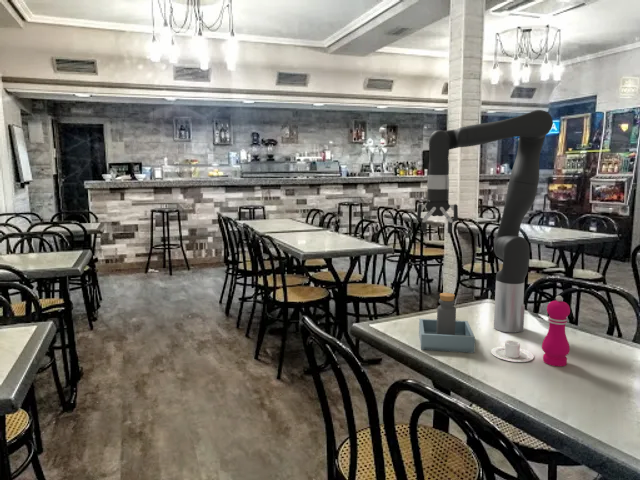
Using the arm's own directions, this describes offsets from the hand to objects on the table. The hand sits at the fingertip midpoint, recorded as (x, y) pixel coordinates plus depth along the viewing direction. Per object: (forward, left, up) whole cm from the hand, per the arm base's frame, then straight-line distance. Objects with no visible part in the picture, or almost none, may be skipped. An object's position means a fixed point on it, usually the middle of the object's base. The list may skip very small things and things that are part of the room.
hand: (436, 232), depth 172 cm
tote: (-2, +22, -33) cm, 40 cm away
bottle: (-2, +22, -32) cm, 39 cm away
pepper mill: (-32, +34, -33) cm, 57 cm away
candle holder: (-21, +30, -34) cm, 50 cm away
